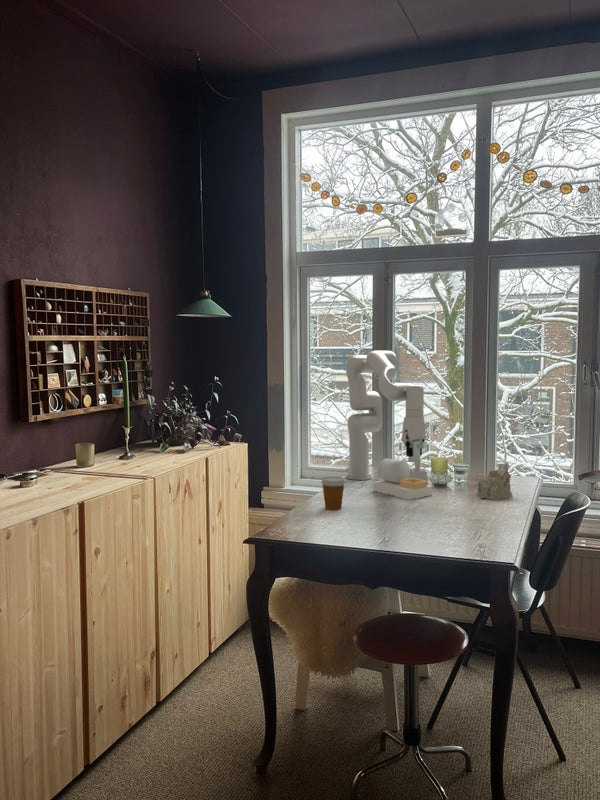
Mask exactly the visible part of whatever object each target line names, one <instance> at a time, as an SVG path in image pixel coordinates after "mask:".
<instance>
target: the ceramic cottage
mask: <svg viewBox="0 0 600 800" xmlns="http://www.w3.org/2000/svg"><path fill="white" fill-rule="evenodd" d="M508 465H509V463H508V462H505V463H504V465H498V469H496V470H490V471H489V473H488V475H486V476H485V478H484V479H480V480H479V481H478V484H477V486H478V487H477V492H476V494H475V495H476V497H478V498H479V497H480V498H479V499H482V498H486V499H485V500H488V499H489V500H504V499H503V498H507V499H511V498H513V492H511V483H510V482H511V478H512V476H511V474H510V473H509V471H508V470H509V467H508ZM510 497H511V498H510Z"/></svg>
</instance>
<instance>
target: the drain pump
mask: <svg viewBox="0 0 600 800" xmlns="http://www.w3.org/2000/svg"><path fill="white" fill-rule="evenodd" d="M409 443H410V441H409ZM412 447H413V456H412V457H409V456H407V459H408V460H407V461H408V462H409V463H415V462H420V463H421V457H420V448H422V449H425V444H423V445H422V444H420V440H413V443H412ZM408 462H407V463H408Z"/></svg>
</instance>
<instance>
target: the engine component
mask: <svg viewBox="0 0 600 800" xmlns="http://www.w3.org/2000/svg"><path fill="white" fill-rule="evenodd" d="M421 457H422V455H420V458H421ZM410 478H415V479H420V480H425V481H427V484H428V485H429V477H428V472H427V471H426V470H425V468H421V461H420V462H414V467H413V468H412V467H410V476H409V478H408V479H410Z"/></svg>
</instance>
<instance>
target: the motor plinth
mask: <svg viewBox="0 0 600 800" xmlns="http://www.w3.org/2000/svg"><path fill="white" fill-rule="evenodd" d="M410 468H411V467H410V465H409V463H408V462H406V461H403V460H398V459H392V458H387V457H386V458H383V460H381V461H380V462H379V465H378V468H377V473H378V477H379V478H380V479H381V480H377V481H376V480H375V481H373V482H372V491H373V492H376V491H377V493H380V492H381V493H380V494H384V493H385V494H384V495H388V494H390V495H389V496H392V495H394V496H393V497H396V496H399V497H398V498H400V497H403V498H402V499H405V498H407V499H406V500H409V499H412V500H414V499H413V498H416V499H419V498H418V497H421V498H425V497H424V496H426V497H430V495H431V496H433V485H430V484H428V485H427V481H425V480H420V479H415V478H410V479H408V478H409V476H410Z"/></svg>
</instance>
